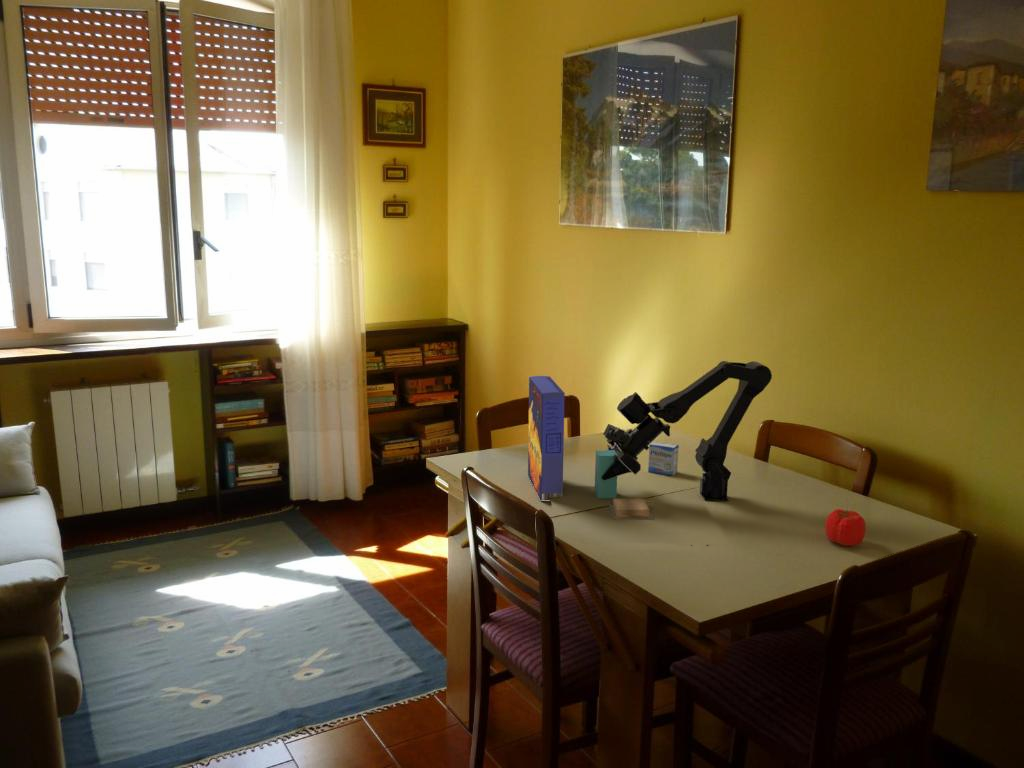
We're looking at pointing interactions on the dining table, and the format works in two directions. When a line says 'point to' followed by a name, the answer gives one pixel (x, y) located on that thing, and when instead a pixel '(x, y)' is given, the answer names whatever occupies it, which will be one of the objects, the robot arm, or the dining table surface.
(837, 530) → the tomato
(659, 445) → the medicine box
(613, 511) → the base slab
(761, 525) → the dining table surface
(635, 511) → the top slab
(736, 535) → the dining table surface
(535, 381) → the cereal box
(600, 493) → the pillar
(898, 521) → the dining table surface
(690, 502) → the dining table surface
